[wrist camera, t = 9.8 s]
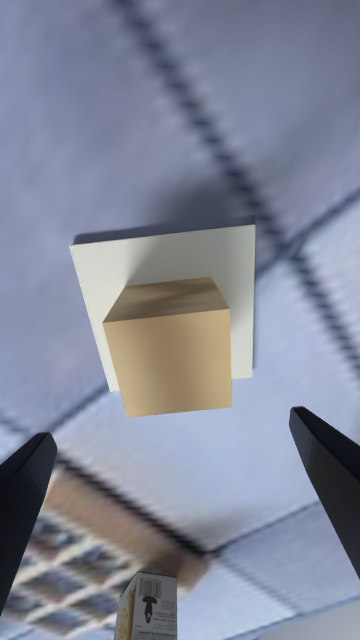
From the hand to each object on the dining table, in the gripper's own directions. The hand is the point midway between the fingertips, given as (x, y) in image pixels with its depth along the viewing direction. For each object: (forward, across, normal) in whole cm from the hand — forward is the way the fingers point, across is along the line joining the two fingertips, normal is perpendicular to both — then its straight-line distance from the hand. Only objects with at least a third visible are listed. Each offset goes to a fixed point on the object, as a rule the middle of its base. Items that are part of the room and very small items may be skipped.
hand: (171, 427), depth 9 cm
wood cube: (+10, 0, 0) cm, 10 cm away
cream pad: (+10, 0, 0) cm, 10 cm away
